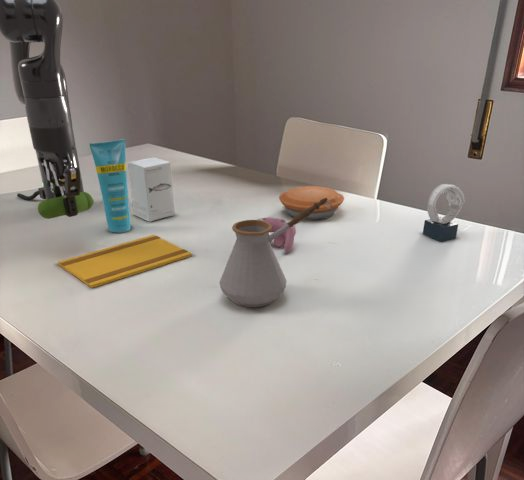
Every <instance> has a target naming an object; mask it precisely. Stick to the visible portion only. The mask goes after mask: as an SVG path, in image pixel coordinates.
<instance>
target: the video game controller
mask: <svg viewBox="0 0 524 480" xmlns="http://www.w3.org/2000/svg"><path fill="white" fill-rule="evenodd" d="M256 220H262V221H266V222H268V223H270V224H271V226H272V228H271V230H270V231H269V233H274V232H276V231H277V230H279V229H280V228H282V227H283V226H285V225H286V224H287V223H288V222H289V221H288V220H285V219H283V218H279V217H271V216H270V217H263V218H262V217H261V218H257V219H256ZM269 233H268V236H270V235H271V234H269ZM296 234H297V229H296V226H295V225H294V226H292V227H290V228H288V229H287V230H286V231H284V232H283V233H281V234H280V235H279V236H277V237H276V238H275V239H273V244H274V245H275V246H276V247H279V248H282V247H284V252H285V254H289V253H290V252H291V250H292V248H293V246H294V242H295V237H296Z"/></svg>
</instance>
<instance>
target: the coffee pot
mask: <svg viewBox="0 0 524 480" xmlns="http://www.w3.org/2000/svg"><path fill="white" fill-rule="evenodd" d="M326 201H328V202H329V203H330V201H329V200H328V199H327V198H324V199H322V200H320V202H318V203H314V205H313V206H312V207H310V208H308V209H306V210H304V211H302V212H301V213H300V214H299V215H297V216H296V217H293V218H292V219H291V220H290V221H288V223H287V224H286V225H285V226H283V227H282V228H280V229H279V230H277V231H276V232H272V233H271V234H269V235H270V236H268V233H270V232H269V231H270V230H271V228H272V226H271V224H270V223H268V222H266V221H262V220H257V219H245V220H240V221H237V222H235V223H233V224H232V227H231V228H232V231H233V232H234V233H235V237H236V239H235V242H234V245H233V247H232V250H231V252H230V254H229V257H228V260H227V261H226V264H225V267H224V270H223V272H222V275H221V278H220V279H219V287H220V289H221V292H222V293H223V294H224V295H225V296H226V297H227V298H228V299H229V300H231V301H232V302H233V304H236V305H238V306H241V307H246V308H261V307H265V306H268V305H271V304H272V303H273V302H274V301H275V300H276V299H278V298H280V296H281V295H282V294H283V293H284V292H285V289H286V287H287V282H288V281H287V278H286V277H285V274H284V272H283V269H282V267H281V264H280V263H279V260H278V257H277V256H276V254H275V251H274V249H273V247H272V244H271V242H272V241H274V239H275V238H276V237H277V236H279V235H280V234H281V233H283V232H284V231H286V230H287V229H288V228H290V227H292V226H294V227H295V225H297V224H299V223H300V222H302V221H304V220H306V219H305V218H307V217H308V216H309V215H310V214H311V213H312V212H313V211H314V210H316V209H317V210H318V209H319V207H320V206H321V205H323V204H324V205H325V206H326V207H327V208H329V207H328V206H327V205H326V204H325V203H326ZM330 205H331V203H330ZM331 208H332V205H331ZM329 209H330V208H329Z"/></svg>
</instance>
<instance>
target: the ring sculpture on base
mask: <svg viewBox="0 0 524 480" xmlns="http://www.w3.org/2000/svg"><path fill="white" fill-rule="evenodd" d="M441 195H443V196H444V198H445V200H446V201H447V202H448V206H449V207H450V208H449V209H448V211H447V213H446V214H445V215H443V217H442V216H439V213H438V209H437V201H438V199H439V197H440V196H441ZM465 202H466V196H465V195H464V193H463V191H462V189H460V187H458V186H457V185H455V184H452V183H450V184H448V183H441V184H439V185H437V186H436V187H434V189H433V190H432V191H431V192H430V195H429V197H428V199H427V204H426V211H427V214H428V217H429V218H428V219H424V223H423V230H422V235H424V236H426V237H429V238H430V239H432V240H435V241H437V242H440V243H442V242H447V241H451V240H455V239H456V238H457V233H458V229H459V223H456V222H454V221H453V220H454V219H455V218H456V217H457V216H458V215H459V212H460V211H461V210H462V208H463V205H464V203H465Z"/></svg>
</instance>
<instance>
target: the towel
mask: <svg viewBox="0 0 524 480" xmlns="http://www.w3.org/2000/svg"><path fill="white" fill-rule="evenodd" d="M192 256H193V253H192V252H189V251H188V250H187V249H185V248H182V247H180V246H177V245H175V244H173V243H171V242H169V241H168V240H165V239H163V238H161V236H158V235H155V234H151V235H147V236H143V237H140V238H137V239H134V240H130V241H127V242H123V243H120V244H116V245H112V246H109V247H106V248H102V249H98V250H94V251H90V252H87V253H84V254H80V255H77V256H73V257H70V258H67V259H63V260H60V261H57V265H58V266H59V267H61V268H62V269H63V270H64V271H67V272H68V273H70V275H72V276H74V277H75V278H77V279H78V280H80V282H83V284H86V285H87V286H88V287H90V288H91V289H93V288H94V289H95V288H97V287H101V286H104V285H106V284H110V283H112V282H115V281H120V280H121V279H124V278H127V277H131V276H134V275H137V274H140V273H145V272H146V271H149V270H153V269H155V268H160V267H162V266H165V265H169V264H172V263H174V262H178V261H181V260H184V259H187V258H190V257H192Z"/></svg>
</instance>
